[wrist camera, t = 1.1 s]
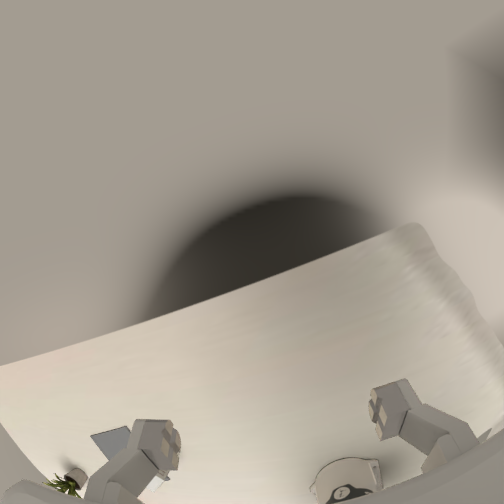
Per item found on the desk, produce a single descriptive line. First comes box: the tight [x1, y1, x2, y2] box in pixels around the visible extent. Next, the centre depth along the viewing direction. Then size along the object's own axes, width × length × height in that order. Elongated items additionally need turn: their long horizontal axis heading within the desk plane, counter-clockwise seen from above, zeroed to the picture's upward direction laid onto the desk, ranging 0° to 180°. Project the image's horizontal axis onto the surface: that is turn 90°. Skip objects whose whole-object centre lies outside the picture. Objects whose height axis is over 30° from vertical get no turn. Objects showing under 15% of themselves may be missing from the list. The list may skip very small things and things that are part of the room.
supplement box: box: [146, 451, 180, 492], centre depth 53 cm, size 7×7×13 cm
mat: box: [90, 426, 170, 481], centre depth 60 cm, size 20×16×1 cm
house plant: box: [44, 468, 87, 498], centre depth 55 cm, size 14×14×16 cm
